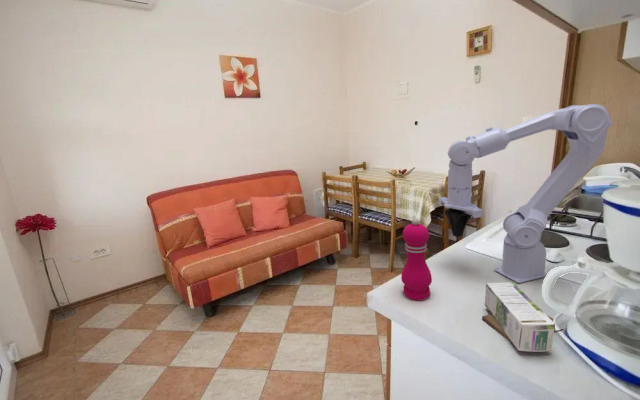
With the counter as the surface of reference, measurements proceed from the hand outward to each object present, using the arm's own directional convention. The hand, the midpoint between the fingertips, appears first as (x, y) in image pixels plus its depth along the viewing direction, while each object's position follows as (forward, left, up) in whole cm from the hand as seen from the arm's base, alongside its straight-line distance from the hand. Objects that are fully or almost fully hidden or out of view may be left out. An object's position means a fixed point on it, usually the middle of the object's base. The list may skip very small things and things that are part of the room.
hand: (457, 235), depth 84 cm
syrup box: (+4, +18, -7) cm, 20 cm away
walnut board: (+4, +24, -10) cm, 27 cm away
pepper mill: (+17, +6, -11) cm, 21 cm away
